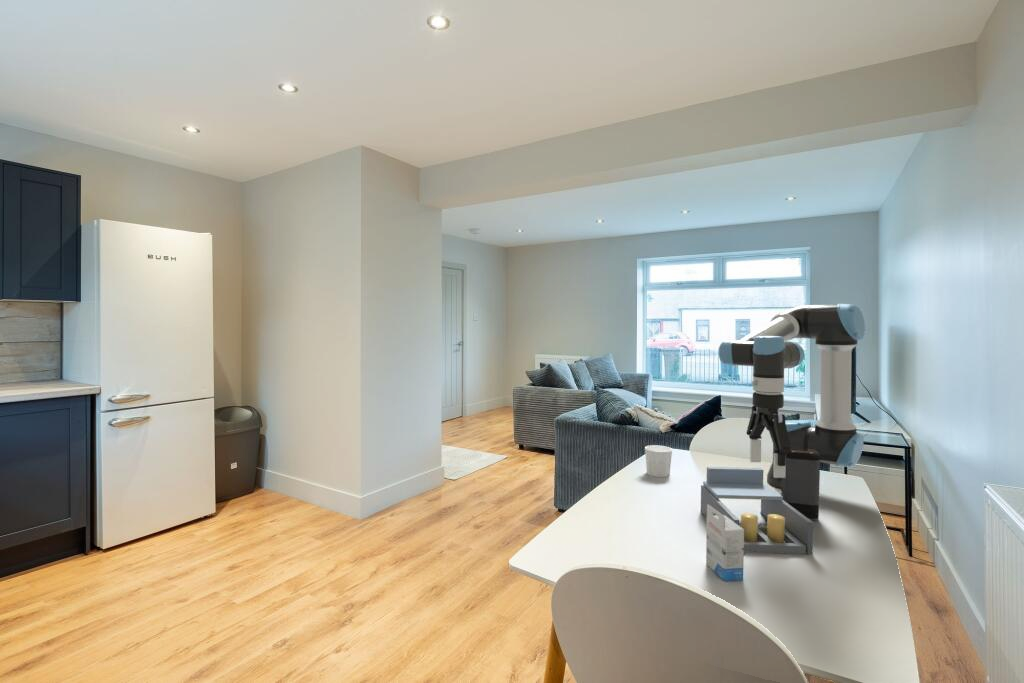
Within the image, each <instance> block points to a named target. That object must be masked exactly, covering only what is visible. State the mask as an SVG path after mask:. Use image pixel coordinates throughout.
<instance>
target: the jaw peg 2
mask: <svg viewBox="0 0 1024 683" xmlns="http://www.w3.org/2000/svg"><path fill="white" fill-rule="evenodd" d="M766 522H767V525H766V526H767V535H766V536H767V537H768V538H769V539H770V540H771V541H772V542H773V543H785V541H784V533H785V518H784V517H783V516H780V515H776V514H769V515H768V519H767V521H766Z"/></svg>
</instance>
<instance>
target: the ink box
mask: <svg viewBox="0 0 1024 683" xmlns="http://www.w3.org/2000/svg"><path fill="white" fill-rule="evenodd" d="M713 513H714V514H715V513H716V516H713ZM739 525H740V524H739ZM739 525H737V524H736V523H734V522H733V521H732V520H730V519H729V518H728V517H726V516H725V515H722V514H721V513H719V512H718V511H717V510H716V509H714V508H713V507H711V506H710V505H709V504H708V505H707V518H706V533H705V534H706V538H705V539H706V540H705V542H706V544H705V548H706V549H705V550H706V551H705V554H706V555H705V558H706V560H705V564H706V565H707V566H708V567H709V568H710V569H711V570H712V571H713V573H715V574H716V575H717V576H718V577H719V578H720V579H721V580H722V581H723V582H730V581H743V580H744V566H745V564H744V561H745V560H744V559H745V558H744V556H745V554H744V553H745V552H744V529H743V528H741V527H740V526H739Z"/></svg>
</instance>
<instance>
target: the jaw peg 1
mask: <svg viewBox="0 0 1024 683" xmlns="http://www.w3.org/2000/svg"><path fill="white" fill-rule="evenodd" d="M758 522H759V517H758V516H757V515H756V514H753V513H748V512H742V513H741V514H740V525H741V528H743V529H744V541H745V542H758V540H757V533H758V526H759V524H758Z"/></svg>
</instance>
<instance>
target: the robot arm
mask: <svg viewBox="0 0 1024 683" xmlns="http://www.w3.org/2000/svg"><path fill="white" fill-rule="evenodd" d="M863 315H864V314H863V313H862V311H861V309H860V308H859V307H858V305H856V304H852V303H832V304H831V303H830V304H805V305H799V306H795V307H793V308H790V309H787V310H784V311H782V312H779V313H778V314H776V315H775V316H774V317H772V318H771V320H770V322H768V323H766V324H764V325H763V326H760V327H759V328H757V329H756V330H753V331H752V332H750V333H749V334H747V335H745V336H743V337H742V338H739V339H738V340H734V339H731V340H730V339H729V340H723V341H722V342H721V343H720V345H719V347H718V358H719V360H720V361H721V363H723V364H725V365H732V366H740V367H741V366H744V367H752V371H753V372H752V380H751V384H752V390H753V391H754V392H753V393H752V406H751V414H750V417H749V421H748V425H747V429H746V435H747V436H748V437H749V439H750V442H749V443H750V447H749V448H750V450H749V455H750V458H749V459H750V460H749V462H750V463H762V439H763V437H762V435H763V434H762V433H763V432H764V431H765V429H766V430H767V431H768V432H769V434H770V438H771V442H772V463H771V465H770V467H769V469H768V472H767V474H766V482H767V483H768V484H770V485H771V486H773V487H776V488H778V489H782V478H785V471H786V453H791V449H792V450H799V451H807V449H810V450H815V451H817V452H818V453H819V454H820V463H824V464H830V465H834V466H836V467H839V466H841V467H846V468H852V467H854V466H856V464H857V463H858V462H859V460H860V458H861V455H862V452H863V448H864V435H863V434H862V433H860V432H857V425H855V423H853V422H852V352H853V349H854V348H855V347H857V346H858V341H860V340H862V339H863V338H864V336H865V331H866V330H865V329H866V323H865V319H864V316H863ZM794 339H813V340H815V346H817V347H818V348H819V349H820V409H819V410H820V412H819V413H820V418H819V419H818V420H817V421H816V422H815V423H814V426H812V423H811V421H810V420H805V419H791V420H790V419H787V420H786V415H785V414H782V413H781V414H780V413H779V411H778V410H779V409H782V408H784V402H785V401H784V400H785V398H784V394H783V392H785V369H792V368H795V367H798V366H799V365H800V364H802V362H803V361H804V360H805V350H804V349H803V347H802V346H801V345H800V344H799V343H797V342H795V341H791V340H794Z"/></svg>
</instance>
